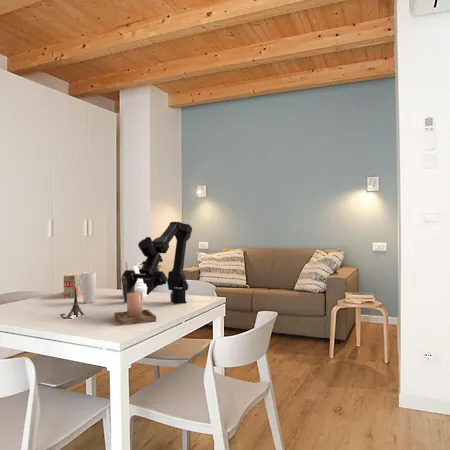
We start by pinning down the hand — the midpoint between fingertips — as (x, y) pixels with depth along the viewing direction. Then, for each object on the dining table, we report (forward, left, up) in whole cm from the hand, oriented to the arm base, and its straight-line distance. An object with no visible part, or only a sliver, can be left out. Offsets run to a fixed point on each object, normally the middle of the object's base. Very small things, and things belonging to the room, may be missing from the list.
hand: (137, 293), depth 164 cm
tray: (+2, +2, -10) cm, 10 cm away
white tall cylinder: (+15, -45, -10) cm, 49 cm away
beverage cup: (-3, -37, -10) cm, 39 cm away
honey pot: (-9, -52, -10) cm, 54 cm away
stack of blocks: (+18, -73, -11) cm, 76 cm away
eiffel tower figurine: (+23, -16, -11) cm, 30 cm away
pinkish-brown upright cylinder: (+1, +1, -10) cm, 10 cm away
